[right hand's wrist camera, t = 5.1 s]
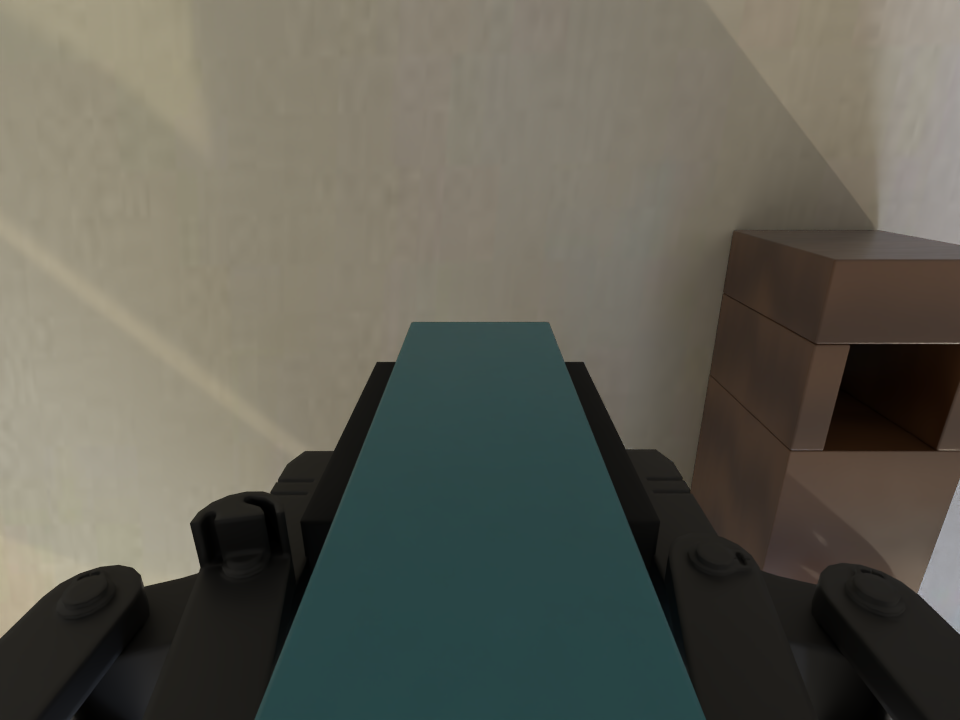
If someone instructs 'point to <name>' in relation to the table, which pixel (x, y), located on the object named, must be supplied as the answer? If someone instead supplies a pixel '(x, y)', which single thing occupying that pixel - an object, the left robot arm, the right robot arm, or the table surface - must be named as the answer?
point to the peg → (480, 556)
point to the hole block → (834, 401)
